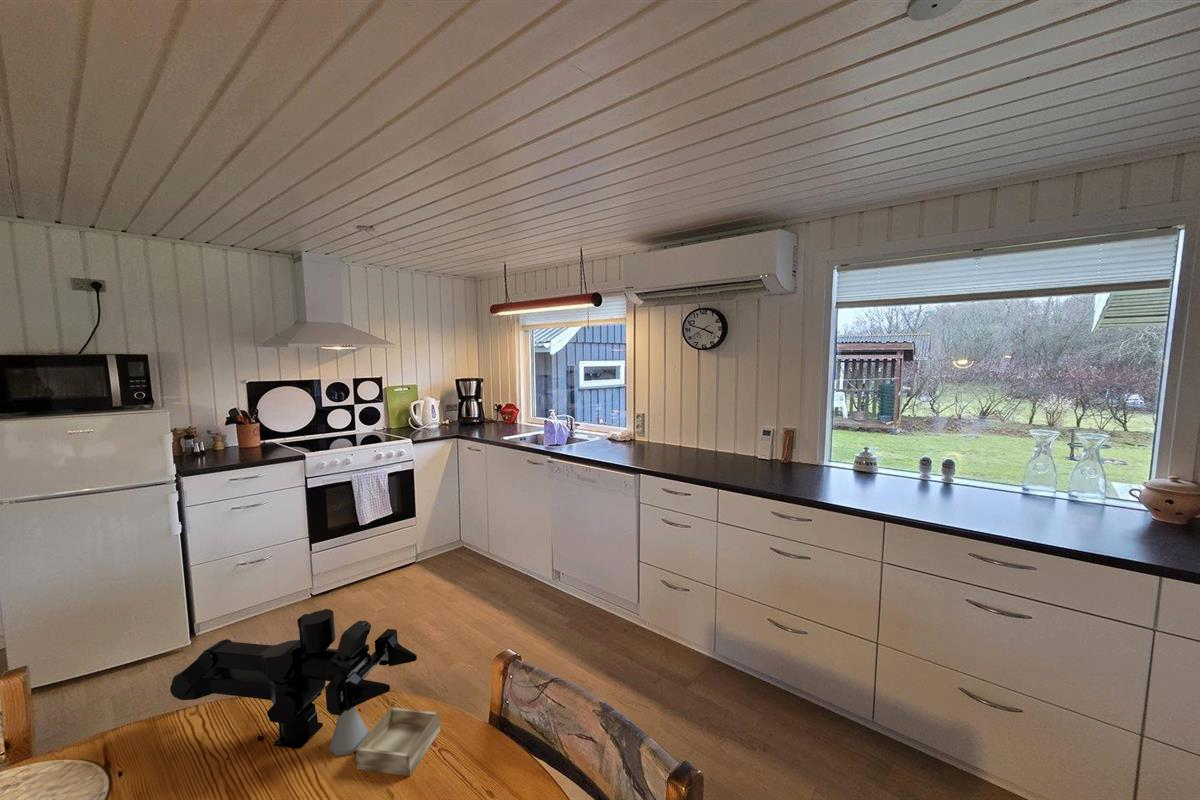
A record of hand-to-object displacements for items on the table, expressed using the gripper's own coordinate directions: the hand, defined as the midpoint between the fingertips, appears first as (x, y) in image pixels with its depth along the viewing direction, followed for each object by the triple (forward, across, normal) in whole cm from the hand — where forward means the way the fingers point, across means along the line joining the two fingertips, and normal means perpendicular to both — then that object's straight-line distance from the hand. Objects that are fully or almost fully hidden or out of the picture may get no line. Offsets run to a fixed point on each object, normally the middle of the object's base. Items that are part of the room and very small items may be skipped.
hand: (403, 672), depth 94 cm
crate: (-2, 0, +16) cm, 17 cm away
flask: (-13, 0, +17) cm, 22 cm away
